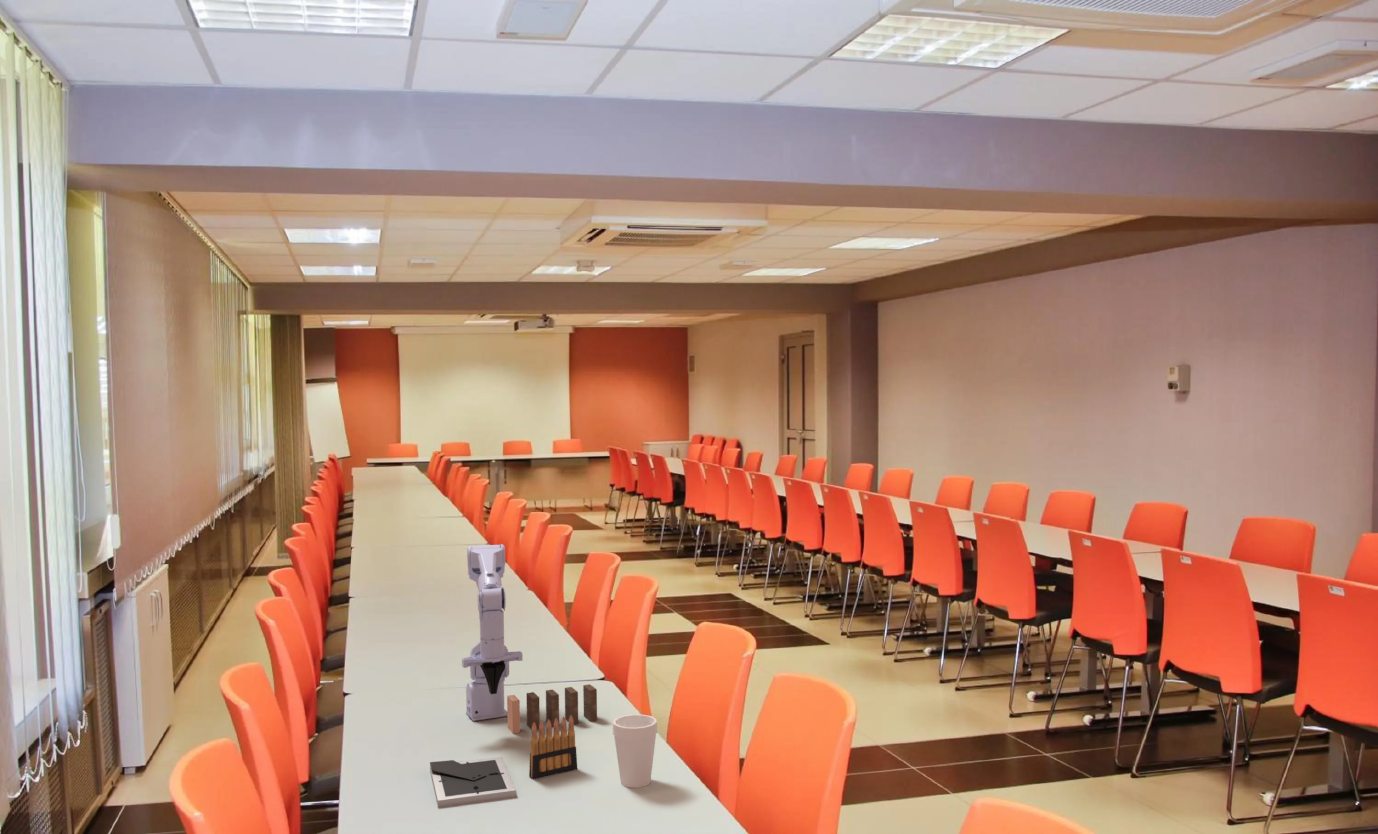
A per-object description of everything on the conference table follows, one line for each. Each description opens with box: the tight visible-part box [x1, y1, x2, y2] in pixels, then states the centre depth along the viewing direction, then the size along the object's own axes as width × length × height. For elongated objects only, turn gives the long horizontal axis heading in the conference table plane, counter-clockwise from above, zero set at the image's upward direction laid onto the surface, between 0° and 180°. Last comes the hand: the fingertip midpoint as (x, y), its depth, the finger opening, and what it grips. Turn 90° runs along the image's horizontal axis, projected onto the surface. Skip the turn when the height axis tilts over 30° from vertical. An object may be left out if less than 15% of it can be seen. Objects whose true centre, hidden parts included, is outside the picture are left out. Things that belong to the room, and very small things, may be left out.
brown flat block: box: [582, 684, 598, 723], centre depth 262 cm, size 2×5×8 cm, turn 25°
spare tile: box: [506, 694, 521, 735], centre depth 253 cm, size 2×5×8 cm, turn 25°
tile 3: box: [545, 689, 560, 729], centre depth 258 cm, size 2×5×8 cm, turn 25°
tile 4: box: [564, 686, 579, 725], centre depth 260 cm, size 2×5×8 cm, turn 25°
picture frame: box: [429, 756, 517, 808], centre depth 219 cm, size 16×3×21 cm
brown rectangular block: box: [526, 691, 541, 731], centre depth 255 cm, size 2×5×8 cm, turn 25°
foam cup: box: [612, 713, 658, 789], centre depth 219 cm, size 10×9×13 cm
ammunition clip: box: [528, 715, 578, 780], centre depth 224 cm, size 11×2×12 cm, turn 123°
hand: (493, 692), depth 251 cm, fingers closed
